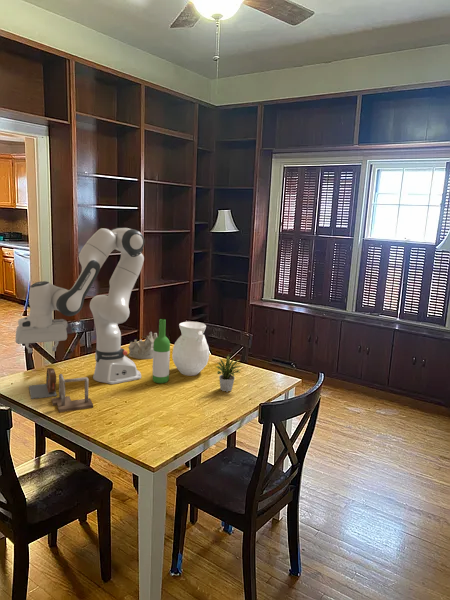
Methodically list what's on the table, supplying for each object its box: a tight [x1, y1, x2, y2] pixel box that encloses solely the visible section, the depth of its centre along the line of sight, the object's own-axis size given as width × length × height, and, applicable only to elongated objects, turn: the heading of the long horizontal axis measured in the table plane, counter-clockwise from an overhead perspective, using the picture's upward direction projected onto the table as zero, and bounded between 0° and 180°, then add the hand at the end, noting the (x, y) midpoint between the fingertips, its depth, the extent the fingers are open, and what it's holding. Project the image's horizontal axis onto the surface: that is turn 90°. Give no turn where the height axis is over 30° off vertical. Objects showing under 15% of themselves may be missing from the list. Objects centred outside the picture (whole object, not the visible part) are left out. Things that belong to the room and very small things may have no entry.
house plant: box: [214, 355, 244, 393], centre depth 205 cm, size 14×14×16 cm
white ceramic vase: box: [171, 321, 210, 376], centre depth 226 cm, size 19×18×25 cm
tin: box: [45, 367, 57, 393], centre depth 195 cm, size 15×3×8 cm, turn 26°
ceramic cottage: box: [128, 331, 158, 360], centre depth 251 cm, size 16×16×15 cm
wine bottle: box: [152, 318, 171, 384], centre depth 212 cm, size 8×8×30 cm
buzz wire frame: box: [51, 373, 94, 413], centre depth 183 cm, size 14×12×12 cm
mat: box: [28, 383, 58, 400], centre depth 195 cm, size 10×14×1 cm
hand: (42, 351), depth 191 cm, fingers open, 8 cm apart
